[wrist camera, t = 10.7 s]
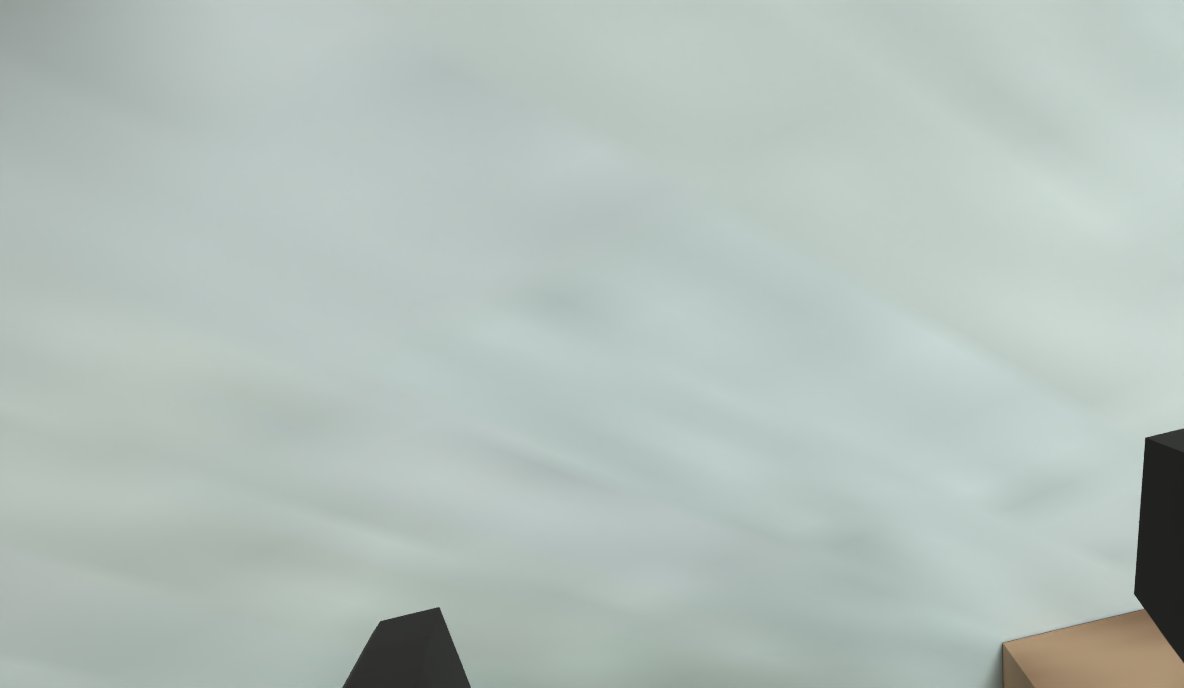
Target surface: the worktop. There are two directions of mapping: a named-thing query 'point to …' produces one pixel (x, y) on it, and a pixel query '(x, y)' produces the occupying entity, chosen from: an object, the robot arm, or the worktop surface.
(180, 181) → the worktop surface
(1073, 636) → the walnut block
